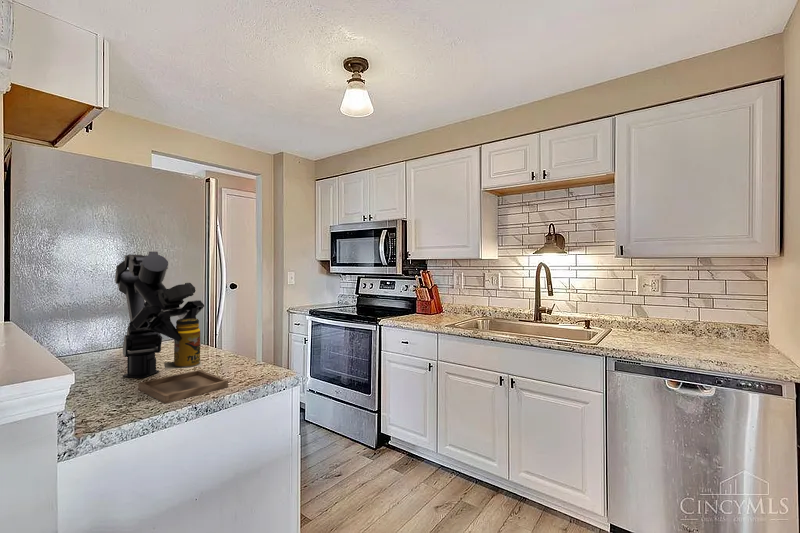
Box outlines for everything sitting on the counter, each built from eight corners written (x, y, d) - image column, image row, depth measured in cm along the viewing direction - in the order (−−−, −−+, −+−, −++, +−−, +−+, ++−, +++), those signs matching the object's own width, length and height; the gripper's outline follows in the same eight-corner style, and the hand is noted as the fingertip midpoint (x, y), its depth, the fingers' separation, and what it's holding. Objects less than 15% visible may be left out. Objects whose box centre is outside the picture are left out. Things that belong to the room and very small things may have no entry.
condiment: (203, 366, 101) (203, 320, 101) (165, 371, 97) (165, 323, 96) (199, 359, 108) (200, 316, 107) (163, 363, 103) (164, 318, 103)
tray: (164, 403, 92) (164, 396, 91) (138, 389, 101) (138, 382, 101) (228, 386, 104) (228, 380, 104) (199, 375, 113) (199, 369, 113)
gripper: (142, 274, 94) (180, 322, 92) (199, 272, 112) (232, 312, 110) (116, 305, 96) (152, 353, 94) (175, 298, 114) (207, 338, 112)
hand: (189, 337), depth 102 cm, fingers closed on condiment, 6 cm apart
